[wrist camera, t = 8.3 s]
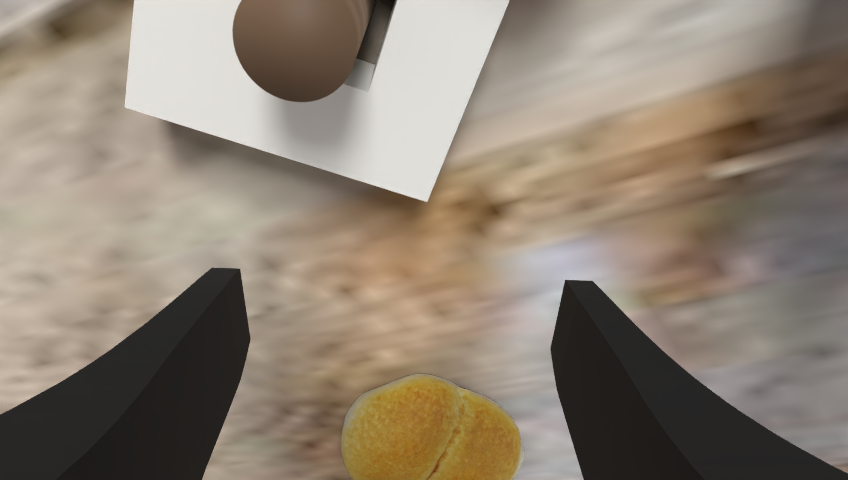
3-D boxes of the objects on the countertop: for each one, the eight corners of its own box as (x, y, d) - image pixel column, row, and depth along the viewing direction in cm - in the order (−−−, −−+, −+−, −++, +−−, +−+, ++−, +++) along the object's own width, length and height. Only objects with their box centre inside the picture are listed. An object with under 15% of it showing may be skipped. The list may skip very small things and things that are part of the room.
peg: (393, -22, 19) (379, 27, 13) (348, 49, 20) (317, 124, 14) (318, -78, 18) (267, -53, 12) (275, 0, 20) (212, 58, 14)
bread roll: (384, 345, 28) (380, 410, 25) (540, 407, 30) (556, 475, 27) (316, 446, 32) (304, 515, 28) (459, 494, 34) (463, 563, 31)
